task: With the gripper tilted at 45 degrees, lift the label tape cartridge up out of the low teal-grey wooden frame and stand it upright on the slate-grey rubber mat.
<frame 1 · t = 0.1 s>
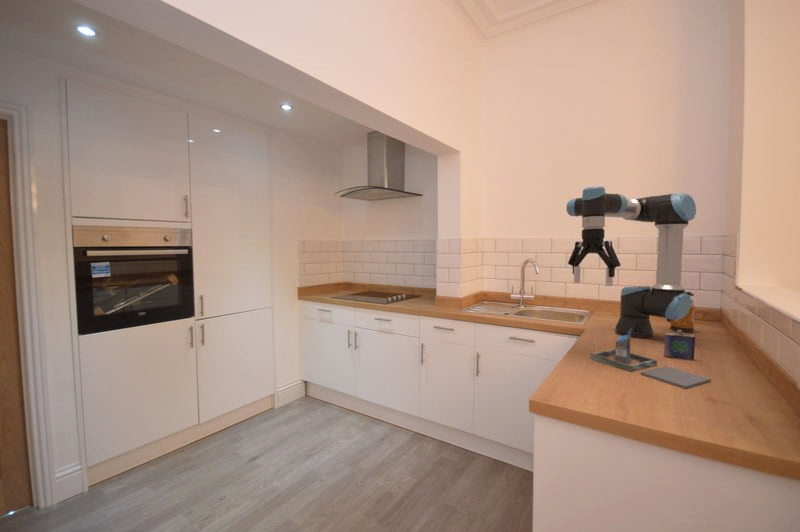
hand: (592, 284, 134), 28 cm above the worktop, tool pointing down, fingers open, 13 cm apart
flask: (678, 358, 134), on the worktop
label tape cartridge: (622, 362, 130), resting in holder
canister: (679, 331, 176), on the worktop
holder: (622, 361, 130), on the worktop
mat: (674, 377, 114), on the worktop
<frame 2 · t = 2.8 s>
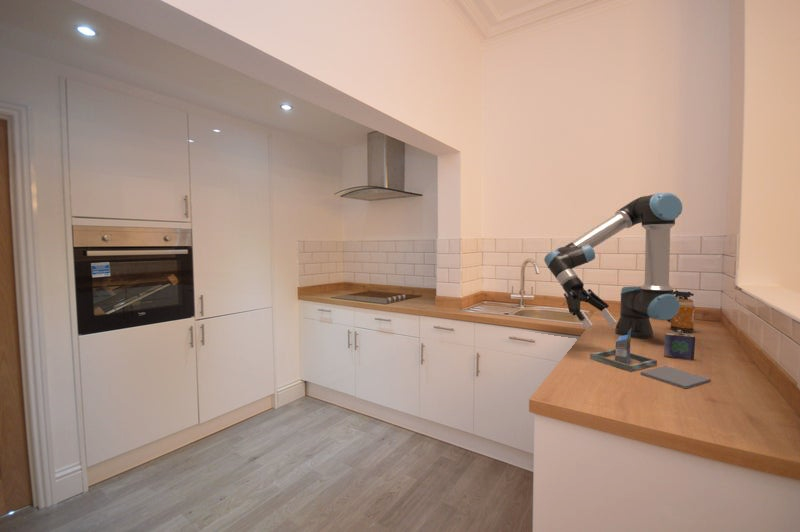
hand: (601, 325, 135), 12 cm above the worktop, tool tilted 45°, fingers open, 13 cm apart
nothing on the worktop moved.
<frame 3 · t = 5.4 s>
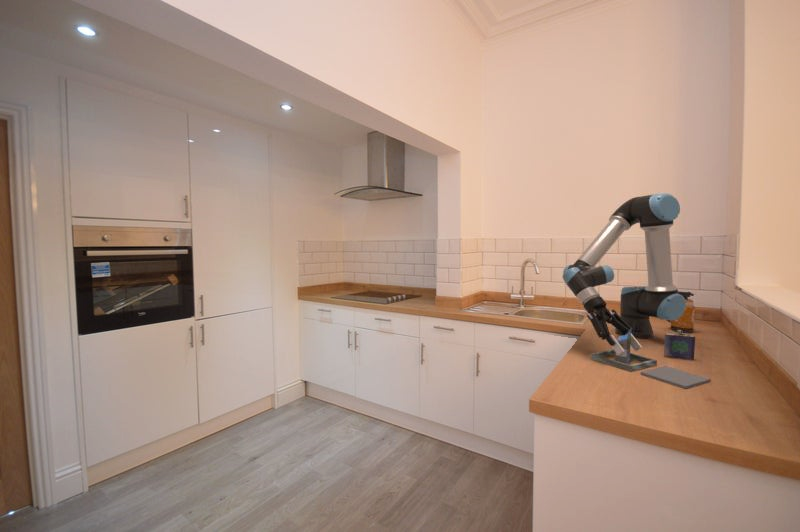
hand: (630, 351, 127), 5 cm above the worktop, tool tilted 45°, fingers closed on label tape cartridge, 9 cm apart
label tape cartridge: (622, 362, 130), resting in holder, touching gripper
everything else where it was.
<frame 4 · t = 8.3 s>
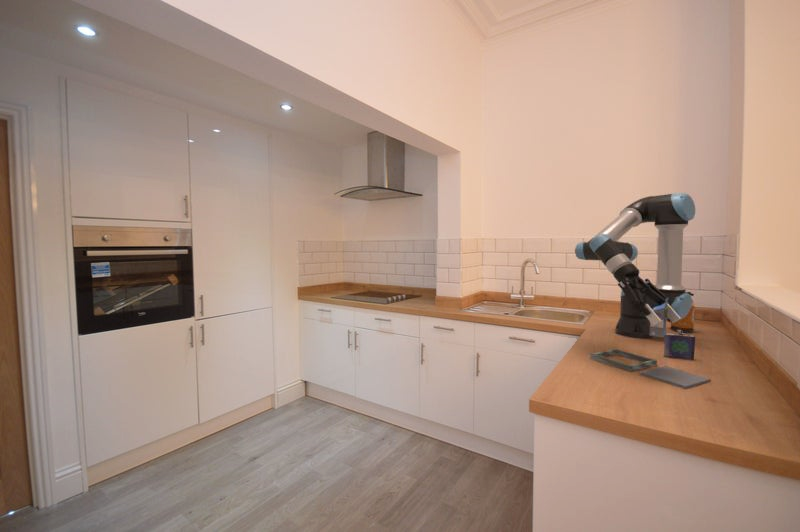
hand: (667, 321, 114), 18 cm above the worktop, tool tilted 45°, fingers closed on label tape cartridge, 9 cm apart
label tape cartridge: (657, 334, 117), point 13 cm above the worktop, touching gripper
everything else where it was.
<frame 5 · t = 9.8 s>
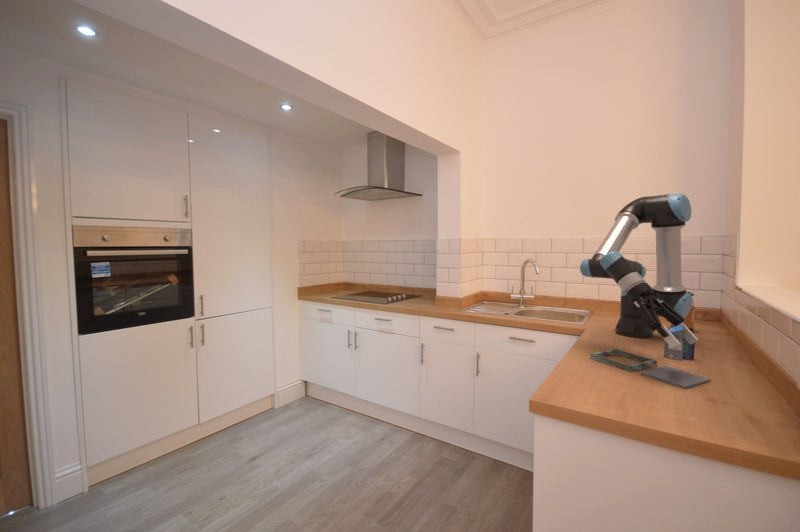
hand: (685, 344, 111), 12 cm above the worktop, tool tilted 45°, fingers closed on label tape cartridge, 9 cm apart
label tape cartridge: (674, 356, 113), point 7 cm above the worktop, touching gripper
everything else where it was.
when the fingers open (7 cm above the worktop, at t = 11.2 s): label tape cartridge drops 1 cm, resting on mat.
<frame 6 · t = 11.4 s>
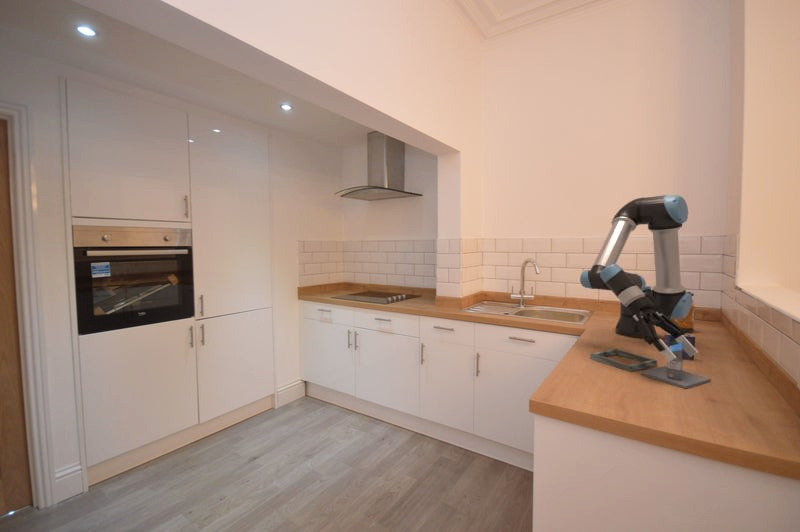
hand: (683, 357, 112), 7 cm above the worktop, tool tilted 45°, fingers open, 11 cm apart
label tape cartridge: (674, 375, 114), point 1 cm above the worktop, touching mat
everything else where it was.
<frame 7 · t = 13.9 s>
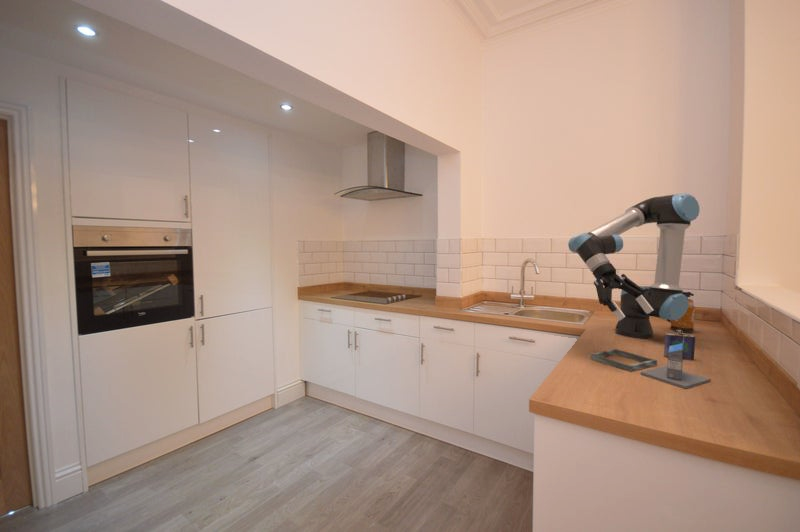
hand: (636, 315, 125), 18 cm above the worktop, tool tilted 40°, fingers open, 13 cm apart
nothing on the worktop moved.
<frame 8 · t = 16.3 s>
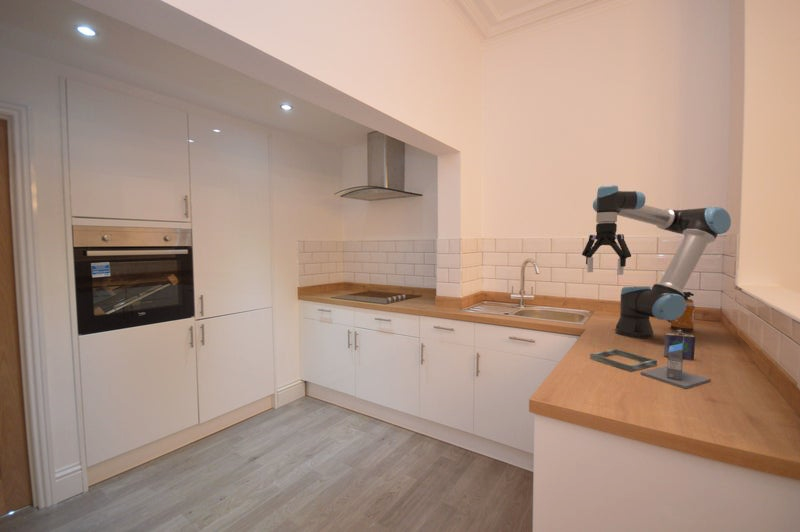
hand: (604, 273, 150), 31 cm above the worktop, tool pointing down, fingers open, 13 cm apart
nothing on the worktop moved.
at the end: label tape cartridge inside the target area on the mat (0.1 cm from its centre), point 0.6 cm above the mat's base; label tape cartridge tilted 0°; the gripper is holding nothing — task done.
